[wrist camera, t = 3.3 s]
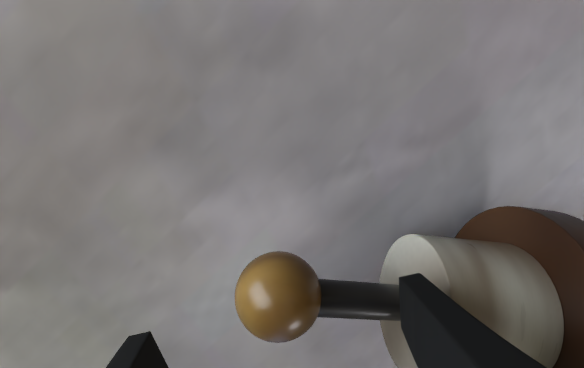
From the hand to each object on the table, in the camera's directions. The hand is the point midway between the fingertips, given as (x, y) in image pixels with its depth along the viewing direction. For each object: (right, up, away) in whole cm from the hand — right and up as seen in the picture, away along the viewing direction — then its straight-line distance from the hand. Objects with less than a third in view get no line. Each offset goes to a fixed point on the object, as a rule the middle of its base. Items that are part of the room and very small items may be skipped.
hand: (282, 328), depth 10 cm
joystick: (+4, +2, +5) cm, 7 cm away
